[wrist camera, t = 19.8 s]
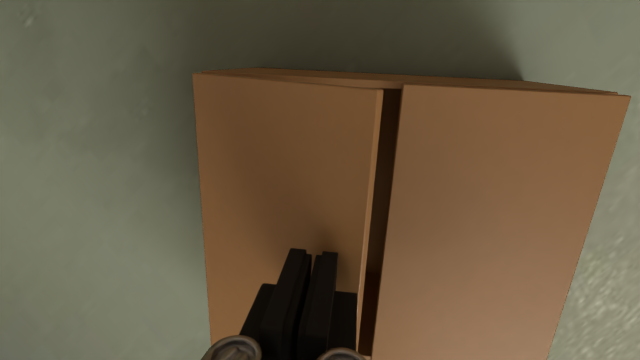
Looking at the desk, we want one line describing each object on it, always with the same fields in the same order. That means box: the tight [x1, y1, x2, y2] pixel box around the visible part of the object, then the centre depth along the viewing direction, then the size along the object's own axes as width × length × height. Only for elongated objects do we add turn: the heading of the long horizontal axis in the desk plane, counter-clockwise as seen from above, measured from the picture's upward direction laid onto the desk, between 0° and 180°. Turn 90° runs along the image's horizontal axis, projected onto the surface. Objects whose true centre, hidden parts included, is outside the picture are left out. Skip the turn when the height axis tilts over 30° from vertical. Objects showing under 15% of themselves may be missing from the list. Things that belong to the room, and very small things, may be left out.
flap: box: [192, 73, 383, 352], centre depth 14 cm, size 8×14×1 cm, turn 0°
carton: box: [202, 67, 631, 360], centre depth 19 cm, size 16×14×9 cm
